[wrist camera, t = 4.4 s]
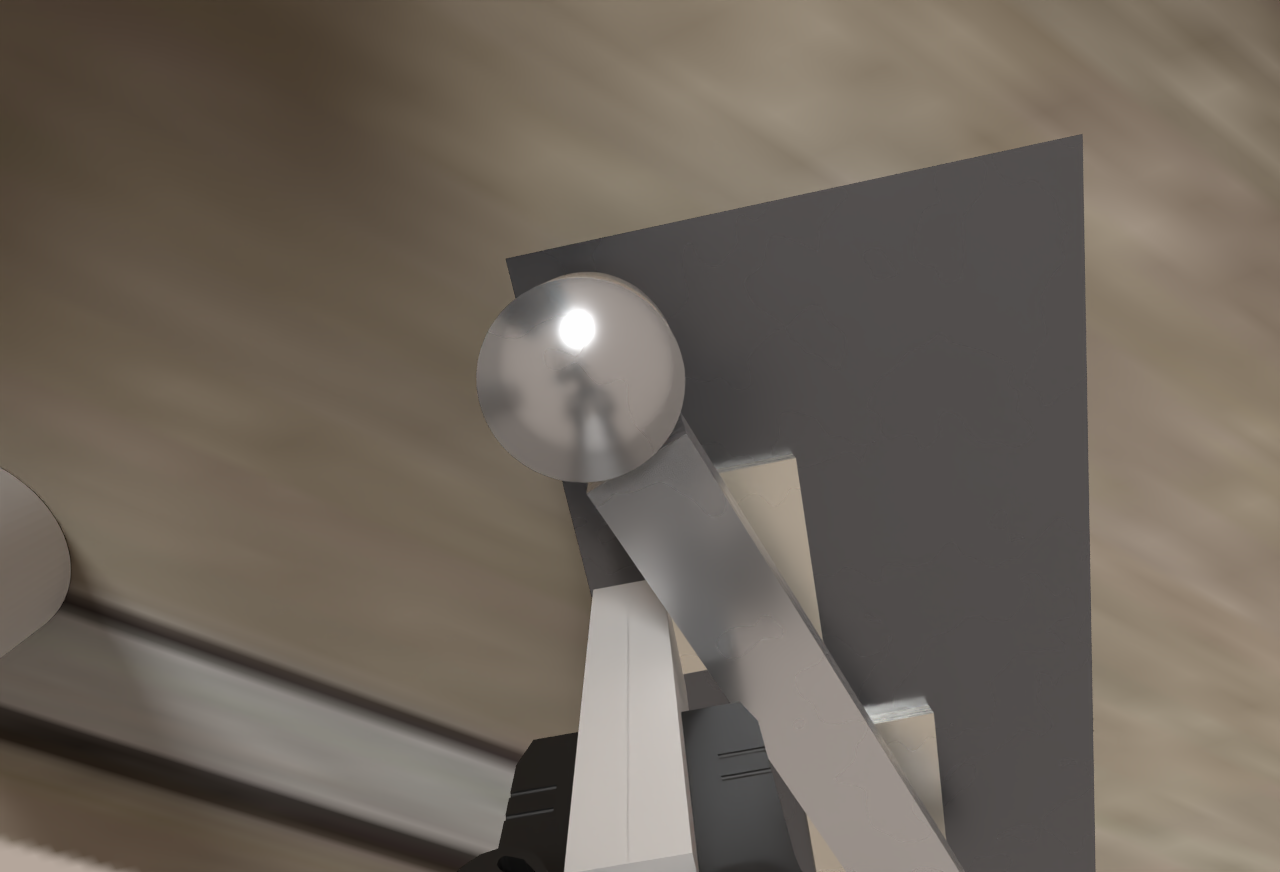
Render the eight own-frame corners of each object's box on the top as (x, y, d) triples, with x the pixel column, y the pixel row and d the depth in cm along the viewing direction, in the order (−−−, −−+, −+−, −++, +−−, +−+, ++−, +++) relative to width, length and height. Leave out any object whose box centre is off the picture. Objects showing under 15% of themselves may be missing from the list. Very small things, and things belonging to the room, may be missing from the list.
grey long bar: (468, 332, 11) (432, 352, 9) (616, 236, 11) (613, 234, 9) (963, 1050, 17) (1013, 1168, 14) (1076, 1002, 16) (1144, 1117, 14)
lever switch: (537, 255, 19) (474, 262, 11) (962, 163, 18) (1202, 104, 11) (683, 862, 25) (708, 1133, 17) (1003, 805, 24) (1174, 1059, 17)
